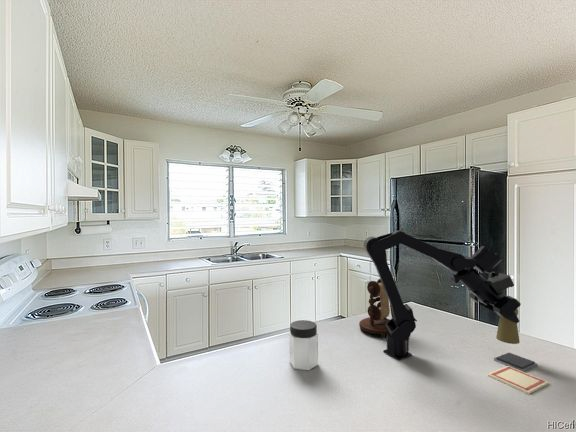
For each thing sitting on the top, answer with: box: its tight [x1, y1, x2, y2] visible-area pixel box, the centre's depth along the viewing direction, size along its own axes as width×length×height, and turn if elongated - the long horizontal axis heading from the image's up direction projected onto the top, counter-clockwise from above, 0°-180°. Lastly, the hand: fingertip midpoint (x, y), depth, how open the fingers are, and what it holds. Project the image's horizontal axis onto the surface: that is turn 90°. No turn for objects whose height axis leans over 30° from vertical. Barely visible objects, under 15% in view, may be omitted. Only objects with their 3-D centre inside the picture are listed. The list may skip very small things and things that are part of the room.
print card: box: [487, 365, 550, 395], centre depth 84 cm, size 10×10×1 cm
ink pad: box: [493, 352, 538, 372], centre depth 94 cm, size 8×8×1 cm
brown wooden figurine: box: [358, 278, 391, 338], centre depth 120 cm, size 15×15×20 cm
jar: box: [288, 319, 319, 371], centre depth 94 cm, size 9×8×12 cm
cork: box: [495, 308, 520, 345], centre depth 97 cm, size 6×6×11 cm
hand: (512, 319), depth 97 cm, fingers closed on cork, 5 cm apart
